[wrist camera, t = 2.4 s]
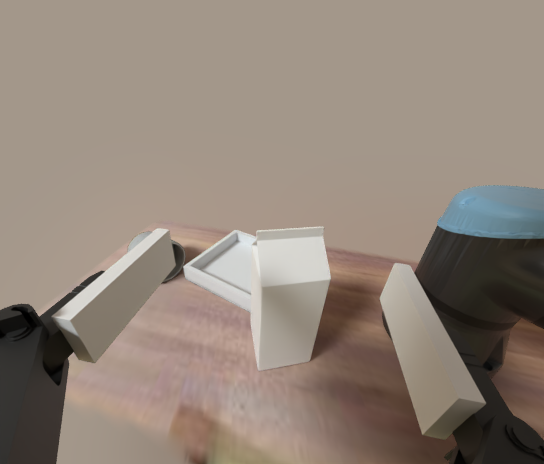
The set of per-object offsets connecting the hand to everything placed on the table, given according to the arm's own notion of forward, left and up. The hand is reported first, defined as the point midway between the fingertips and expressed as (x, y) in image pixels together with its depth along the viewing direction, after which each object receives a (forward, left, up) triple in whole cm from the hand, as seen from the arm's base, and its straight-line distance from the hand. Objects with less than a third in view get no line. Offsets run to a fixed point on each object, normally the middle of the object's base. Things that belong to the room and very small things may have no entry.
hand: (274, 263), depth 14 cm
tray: (+16, -19, -22) cm, 33 cm away
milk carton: (+3, -9, -22) cm, 24 cm away
